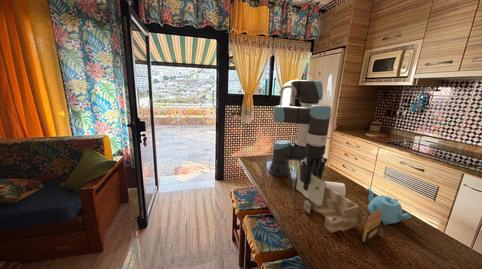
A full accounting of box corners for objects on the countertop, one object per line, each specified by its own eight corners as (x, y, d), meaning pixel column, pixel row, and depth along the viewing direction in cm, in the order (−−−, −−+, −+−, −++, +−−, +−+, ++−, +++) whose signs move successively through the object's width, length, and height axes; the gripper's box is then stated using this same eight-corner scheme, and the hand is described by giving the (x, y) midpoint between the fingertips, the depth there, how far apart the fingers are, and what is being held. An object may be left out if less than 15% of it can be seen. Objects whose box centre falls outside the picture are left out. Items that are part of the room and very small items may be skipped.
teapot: (365, 221, 88) (370, 199, 85) (363, 206, 100) (367, 186, 97) (407, 233, 81) (414, 210, 78) (399, 216, 93) (405, 195, 90)
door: (294, 189, 87) (297, 169, 85) (299, 188, 89) (302, 168, 86) (316, 206, 75) (319, 183, 73) (321, 204, 76) (325, 182, 74)
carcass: (302, 208, 96) (304, 190, 93) (323, 202, 101) (325, 185, 99) (332, 234, 79) (336, 213, 76) (356, 226, 84) (360, 206, 82)
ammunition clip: (365, 243, 75) (371, 217, 72) (360, 240, 76) (366, 214, 73) (378, 234, 80) (384, 209, 77) (373, 231, 82) (379, 206, 79)
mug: (344, 200, 104) (346, 187, 102) (325, 198, 106) (327, 185, 104) (338, 189, 116) (340, 178, 114) (320, 187, 117) (322, 175, 116)
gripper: (307, 148, 70) (300, 204, 76) (337, 145, 76) (328, 197, 81) (294, 142, 77) (288, 194, 82) (322, 140, 82) (315, 188, 88)
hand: (308, 195), depth 82 cm, fingers closed on door, 2 cm apart
